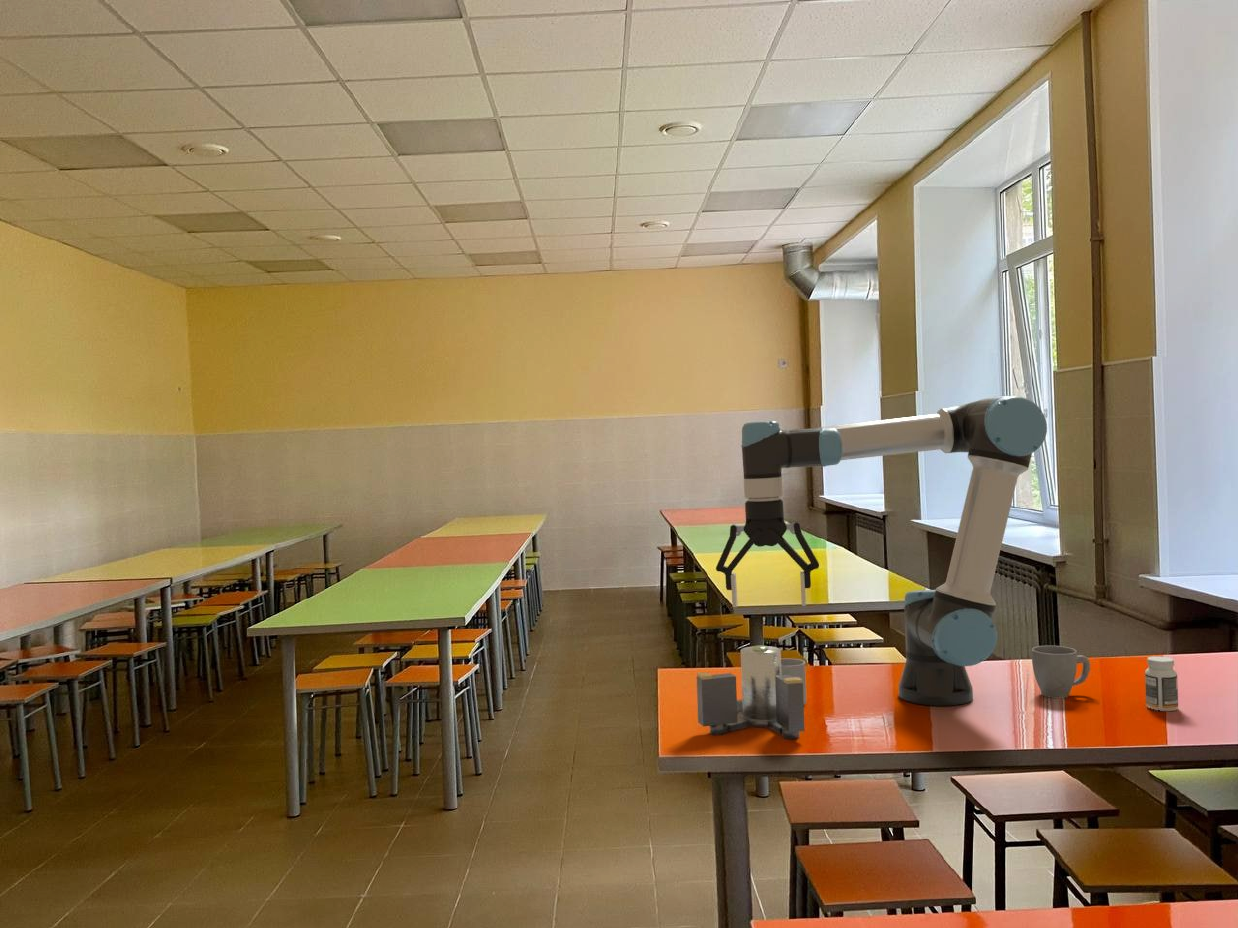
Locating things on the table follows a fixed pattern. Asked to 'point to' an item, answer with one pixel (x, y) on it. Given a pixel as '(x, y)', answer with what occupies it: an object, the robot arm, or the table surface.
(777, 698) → the grey rectangular block
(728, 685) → the tan-tipped grey block
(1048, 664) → the mug
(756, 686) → the stand
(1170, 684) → the pill bottle
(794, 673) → the cup
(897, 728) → the table surface
